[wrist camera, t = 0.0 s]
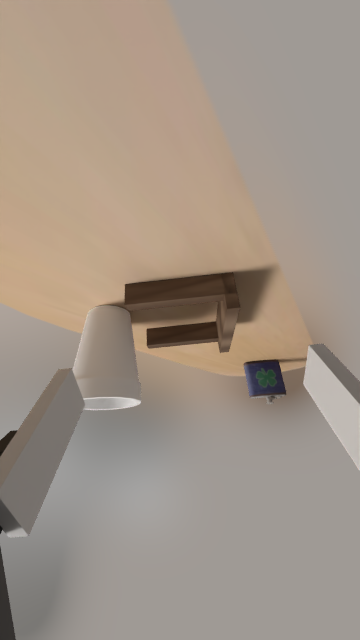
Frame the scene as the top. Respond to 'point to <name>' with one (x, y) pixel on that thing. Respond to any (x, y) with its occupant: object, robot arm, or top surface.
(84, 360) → the foam cup
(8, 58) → the top surface
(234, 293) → the corral
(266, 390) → the flask
